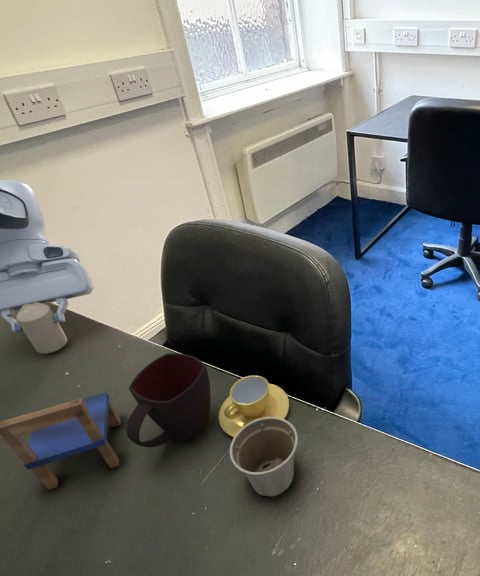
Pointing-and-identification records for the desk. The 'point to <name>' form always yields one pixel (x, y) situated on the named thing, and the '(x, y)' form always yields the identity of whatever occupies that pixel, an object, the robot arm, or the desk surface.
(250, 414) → the cup
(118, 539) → the desk surface
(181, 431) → the mug
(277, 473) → the flower pot
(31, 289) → the robot arm
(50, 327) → the candle
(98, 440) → the chair
